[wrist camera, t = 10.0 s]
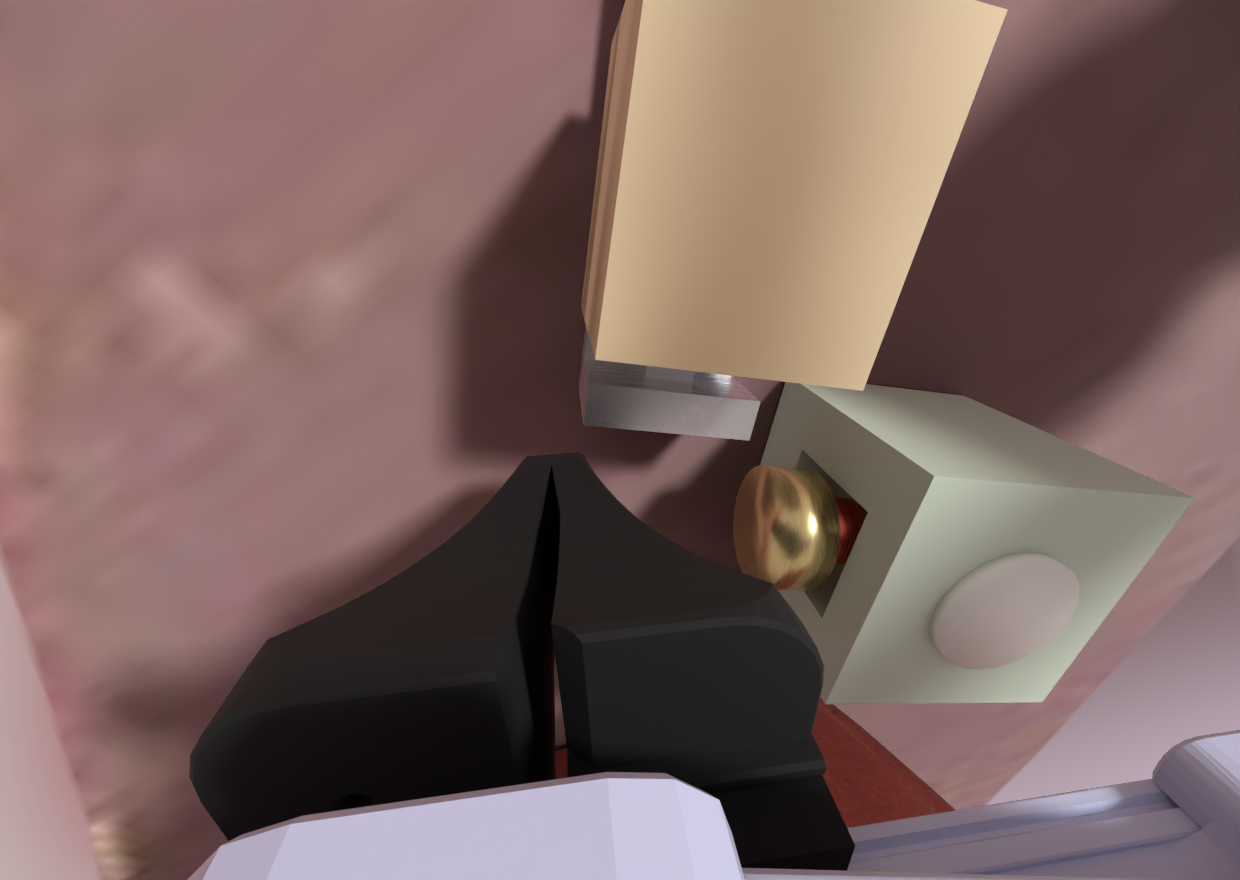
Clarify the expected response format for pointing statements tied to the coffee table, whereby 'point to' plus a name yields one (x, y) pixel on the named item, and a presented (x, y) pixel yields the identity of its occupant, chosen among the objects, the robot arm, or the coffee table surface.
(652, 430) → the rail
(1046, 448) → the cabinet
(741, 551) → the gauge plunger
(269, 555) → the coffee table surface
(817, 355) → the carriage
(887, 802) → the plant pot
